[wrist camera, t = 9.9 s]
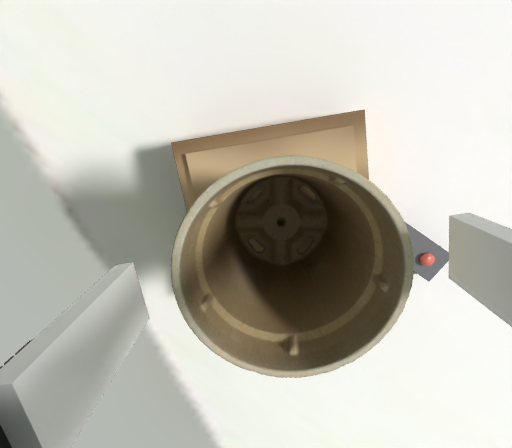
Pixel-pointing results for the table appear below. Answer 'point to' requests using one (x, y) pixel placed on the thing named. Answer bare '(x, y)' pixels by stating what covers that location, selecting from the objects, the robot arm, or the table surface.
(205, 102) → the table surface
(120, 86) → the table surface
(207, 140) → the plinth
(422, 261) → the clicker
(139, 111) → the table surface
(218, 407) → the table surface
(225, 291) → the flower pot
